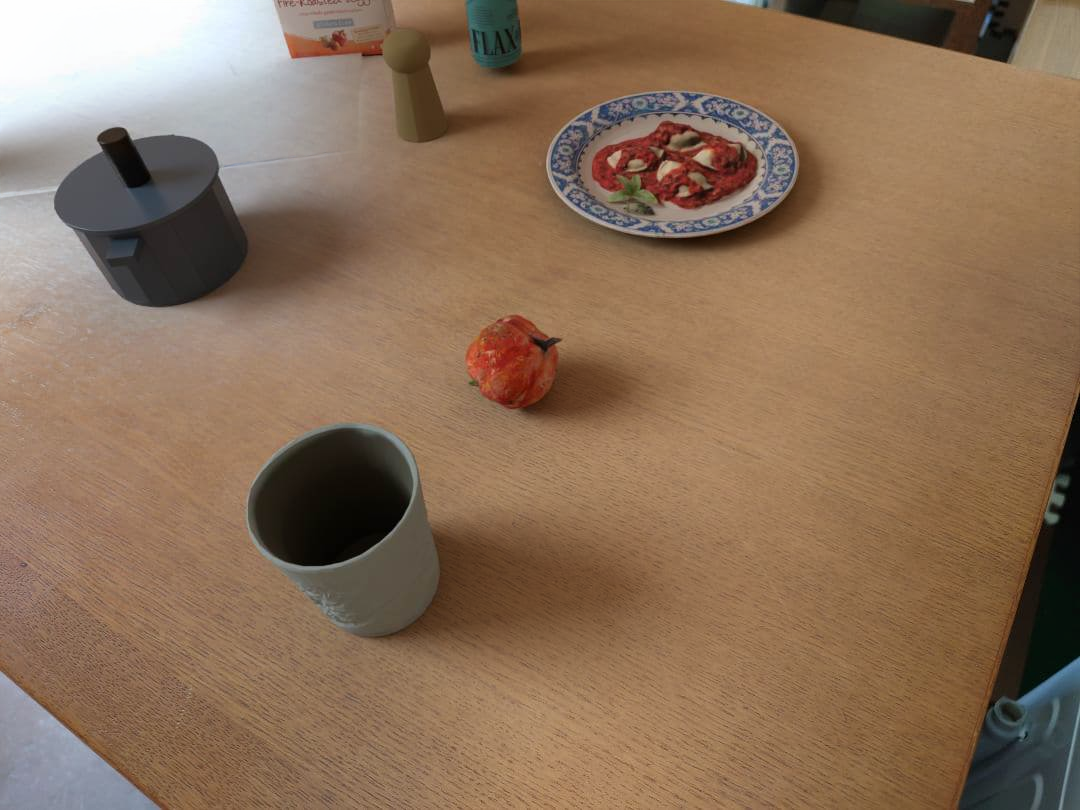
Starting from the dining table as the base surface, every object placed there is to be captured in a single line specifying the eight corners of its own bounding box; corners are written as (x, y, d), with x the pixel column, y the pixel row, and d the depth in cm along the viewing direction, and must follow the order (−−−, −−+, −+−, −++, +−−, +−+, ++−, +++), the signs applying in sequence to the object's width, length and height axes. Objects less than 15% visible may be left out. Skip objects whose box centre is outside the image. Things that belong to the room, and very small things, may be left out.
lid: (39, 250, 67) (-1, 195, 63) (83, 155, 77) (51, 101, 72) (208, 229, 68) (180, 173, 63) (232, 136, 77) (209, 82, 73)
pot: (89, 335, 73) (34, 261, 66) (134, 211, 85) (91, 137, 78) (234, 316, 73) (195, 240, 66) (258, 195, 85) (227, 120, 78)
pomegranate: (477, 440, 64) (566, 412, 58) (420, 377, 62) (507, 340, 55) (512, 382, 69) (597, 350, 63) (460, 321, 66) (544, 281, 60)
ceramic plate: (676, 84, 93) (678, 59, 91) (849, 179, 79) (856, 153, 77) (500, 169, 85) (497, 144, 82) (659, 292, 71) (661, 267, 69)
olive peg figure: (411, 110, 94) (391, 18, 85) (456, 117, 92) (441, 24, 83) (387, 137, 90) (364, 44, 82) (434, 145, 89) (415, 51, 80)
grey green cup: (458, 519, 57) (428, 420, 48) (442, 654, 51) (404, 569, 42) (324, 520, 58) (269, 422, 49) (291, 652, 52) (222, 569, 42)
